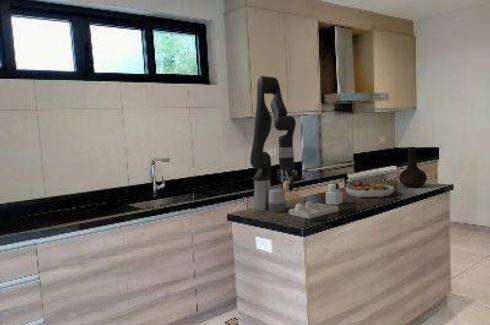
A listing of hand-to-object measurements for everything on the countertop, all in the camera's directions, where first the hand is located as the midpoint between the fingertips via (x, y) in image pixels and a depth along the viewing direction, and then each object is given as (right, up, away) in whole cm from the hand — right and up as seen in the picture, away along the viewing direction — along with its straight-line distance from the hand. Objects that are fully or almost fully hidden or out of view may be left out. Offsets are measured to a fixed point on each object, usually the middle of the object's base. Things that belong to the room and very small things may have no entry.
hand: (287, 190), depth 194 cm
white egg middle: (+13, -13, +13) cm, 22 cm away
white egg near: (+7, -13, +9) cm, 18 cm away
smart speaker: (-3, -14, +20) cm, 25 cm away
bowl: (+60, -7, +59) cm, 84 cm away
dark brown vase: (+97, -3, +79) cm, 125 cm away
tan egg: (0, -1, 0) cm, 1 cm away
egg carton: (+15, -14, +11) cm, 23 cm away
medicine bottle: (+32, -11, +35) cm, 48 cm away
